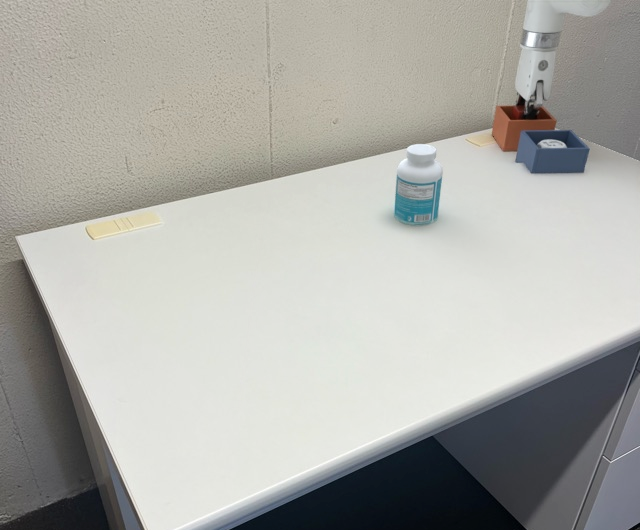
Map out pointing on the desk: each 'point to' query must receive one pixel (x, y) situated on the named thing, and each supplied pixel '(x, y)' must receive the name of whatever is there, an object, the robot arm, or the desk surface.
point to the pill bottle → (418, 186)
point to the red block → (519, 112)
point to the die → (551, 144)
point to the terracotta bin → (517, 126)
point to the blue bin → (552, 152)
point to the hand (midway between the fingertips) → (522, 127)
